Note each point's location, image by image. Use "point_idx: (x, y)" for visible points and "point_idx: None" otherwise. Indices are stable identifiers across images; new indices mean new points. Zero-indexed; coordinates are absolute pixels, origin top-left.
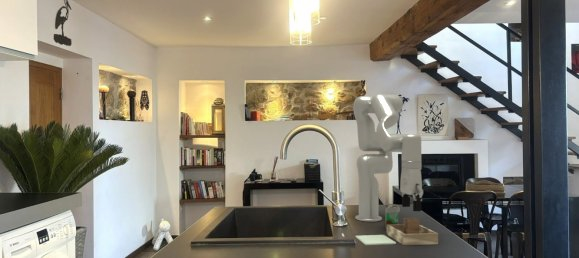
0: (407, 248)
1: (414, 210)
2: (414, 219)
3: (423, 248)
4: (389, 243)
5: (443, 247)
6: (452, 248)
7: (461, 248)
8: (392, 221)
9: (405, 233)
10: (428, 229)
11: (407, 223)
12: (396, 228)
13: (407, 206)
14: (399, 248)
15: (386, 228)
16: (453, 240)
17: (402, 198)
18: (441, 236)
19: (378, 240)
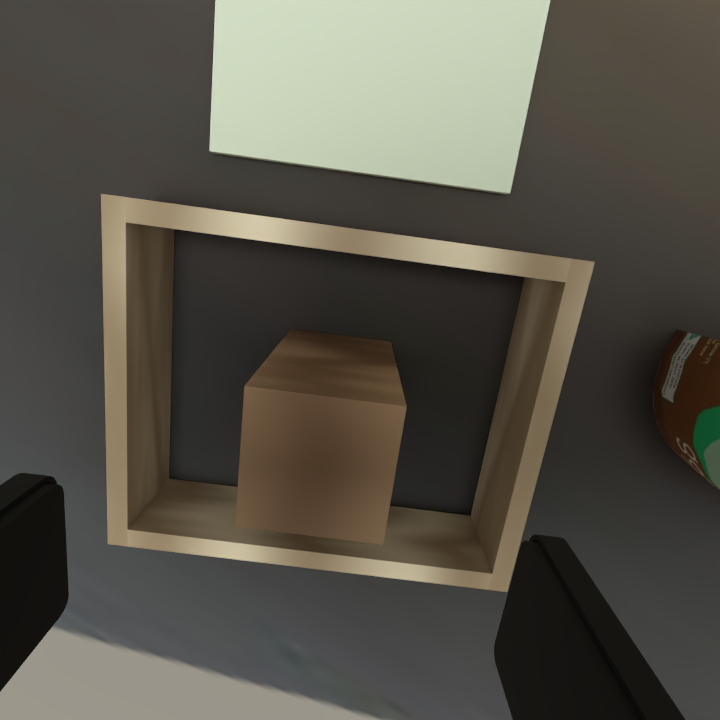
0: (62, 177)
1: (18, 490)
2: (271, 485)
3: (50, 313)
4: (215, 80)
5: (63, 473)
6: None
7: None
8: (711, 417)
9: (347, 347)
10: (265, 552)
11: (284, 374)
12: (529, 357)
13: (503, 612)
14: (69, 101)
15: (689, 336)
16: (228, 640)
17: (643, 696)
18: (348, 632)
19: (321, 4)
